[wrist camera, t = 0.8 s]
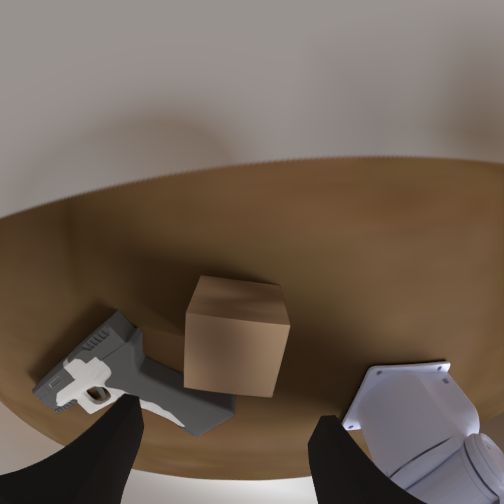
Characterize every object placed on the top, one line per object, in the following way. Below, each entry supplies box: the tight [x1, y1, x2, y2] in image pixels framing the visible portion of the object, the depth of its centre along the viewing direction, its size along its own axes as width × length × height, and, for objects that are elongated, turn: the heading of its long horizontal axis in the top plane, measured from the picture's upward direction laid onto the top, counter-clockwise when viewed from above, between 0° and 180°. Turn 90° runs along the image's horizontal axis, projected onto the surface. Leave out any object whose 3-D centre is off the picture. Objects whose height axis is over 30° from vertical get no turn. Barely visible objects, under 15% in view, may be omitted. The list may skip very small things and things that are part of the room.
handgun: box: [32, 310, 236, 436], centre depth 20 cm, size 2×18×12 cm
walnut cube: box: [184, 275, 290, 397], centre depth 16 cm, size 5×5×5 cm
